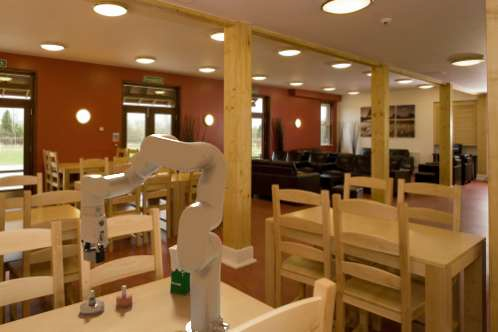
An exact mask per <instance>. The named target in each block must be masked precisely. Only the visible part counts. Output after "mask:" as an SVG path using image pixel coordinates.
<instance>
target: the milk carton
mask: <svg viewBox="0 0 498 332" xmlns="http://www.w3.org/2000/svg"><path fill="white" fill-rule="evenodd" d="M176 250H177V244H175V245H172V246H171V247H169V248H168V252H169V256H170V278H171V279H170V287H169V288H170V289H169V292H170V293H171V294H172V293H173V294H177V295H181V296H186V295H188V294H190V273H188V272H185V271H184V270H182V269H181V267H180V266H179V264H178V262H177V257H176Z"/></svg>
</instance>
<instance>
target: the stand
mask: <svg viewBox="0 0 498 332" xmlns="http://www.w3.org/2000/svg"><path fill="white" fill-rule="evenodd" d="M115 302H116V303H115V307H116V308H117V309H127V308H130V307H132V305H133V294H131V293H127V285H122V286H121V294H119V295H117V296H116V297H115Z"/></svg>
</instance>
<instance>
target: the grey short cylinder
mask: <svg viewBox="0 0 498 332" xmlns="http://www.w3.org/2000/svg"><path fill="white" fill-rule="evenodd" d="M82 251H83V250H82ZM95 252H97V250H96V247H95V246H92V247H91V248H87V249H85V250H84V251H83V252H82V253H83V260H84V261H86V262H96V254H95Z"/></svg>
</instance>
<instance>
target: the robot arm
mask: <svg viewBox="0 0 498 332" xmlns="http://www.w3.org/2000/svg"><path fill="white" fill-rule="evenodd" d="M130 165H131V166H130V167H129V168H127V169H125V170H124V171H122V172H121V173H119V174H111V175H104V176H103V175H101V174H85V175H82V176H80V211H81V212H80V215H81V216H80V233H79V239H80V242H81V244H82V246H81V247H82V249H83V250H82V251H84V250H85V249H87V248H91V247H93V246H92V244H93V245H94V247H96V250H97V252H95V254H96V261H95V264H100V263H105V260H106V257H105V256H106V255H105V254H106V253H105V251H106V249H107V247H108V246H109V243H110V242H109V228H108V222H107V216H106V212H105V200H106V199H111V198H115V197H119V196H124V195H127V194H129V193H131V192H132V191H134V190H136V189H137V188H139V187H140V186H142V185H144V183H145V182H146V181H147V179H148V178H149V177H150V176H151V175H153V174H154V173H157V171H159V170H160V169H163V167H164V168H167V169H172V170H176V171H179V172H182V173H183V172H184V173H189V172H195V171H200V170H201V172H200V177H199V179H198V183H197V191H196V199H195V202H194V203H192V204H190V205H188V206H187V207H185V209H184V210H182V213H181V215H180V217H179V221H178V231H177V239H176V240H177V241H176V245H177V250H176V257H177V262H178V264H179V266H180V267H181V269H182V270H184V271H185V272H188V273H190V292H189V295H190V297H189V299H190V300H189V301H190V303H189V307H190V309H189V311H190V312H189V313H190V314H189V315H190V321H189V322H188V323H187V324H186V326H185V332H195V331H198V332H225V331H227V330H228V331H229V329H230V324H229V323H225V322H224V316H222V315H221V272H222V271H221V269H222V267H221V266H222V260H223V248H224V247H223V242H222V240H221V238H220V236H219V235H218V234H216V233H215V232H213V231H212V230H214V229H216V228H217V227H219V225H220V224H221V222H223V215H224V204H225V196H226V194H225V193H226V186H227V185H226V184H227V177H228V176H227V175H228V165H227V160H226V158H225V156H224V154H223V152H222V151H221V149H219V148H218V147H217V146H216V145H213V144H212V143H209V142H204V141H195V142H185V141H180V140H179V139H178V138H177V137H176V136H174V135H172V134H166V133H165V134H161V133H160V134H155V133H154V134H150V135H148V136H146V137H145V138H144V139H143V140H142V141H141V144H140V146H139V151H137V152H135V153H134V154H133V155H132V156H131V158H130Z"/></svg>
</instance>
